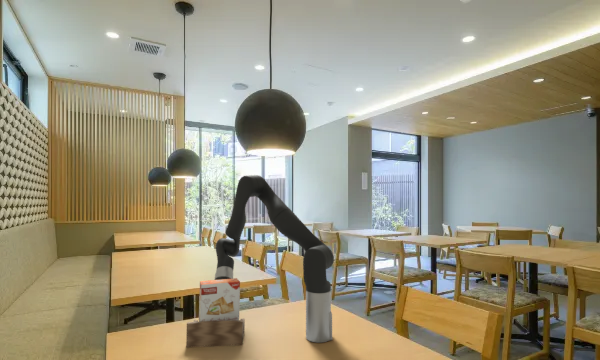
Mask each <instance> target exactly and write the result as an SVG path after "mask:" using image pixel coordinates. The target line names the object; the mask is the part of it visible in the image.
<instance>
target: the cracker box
mask: <svg viewBox="0 0 600 360" xmlns="http://www.w3.org/2000/svg"><path fill="white" fill-rule="evenodd" d="M240 286H241V282H240V280H239V279H238V278H237V277H235V278H234V277H233V279H222V280H214V279H211V280H201V281H199V298H198V299H199V301H198V303H199V304H198V305H199V306H198V322H200V321H229V320H240V304H241V303H240V301H241V299H240V298H241V295H240V294H241V292H240V291H241V287H240Z"/></svg>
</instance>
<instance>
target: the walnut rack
mask: <svg viewBox="0 0 600 360" xmlns="http://www.w3.org/2000/svg"><path fill="white" fill-rule="evenodd" d="M245 320H246V319H245V318H239V320H229V321H200V322H199V319H196V320H195V319H194V320H193V321H187V322H186V339H185V340H186V342H185V343H186V345H185V347H186V348H199V347H200V348H202V347H203V348H205V347H224V346H226V347H228V346H229V347H230V346H242V345H243V341H244V336H245V329H246V328H245V326H246V325H245V322H246V321H245Z"/></svg>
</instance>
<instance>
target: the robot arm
mask: <svg viewBox="0 0 600 360" xmlns="http://www.w3.org/2000/svg"><path fill="white" fill-rule="evenodd" d="M252 197H253V198H254V197H255V198H258V200H260V201H261V202H262V203H263V205H264V206H265V208H266V210H267V215H268V218H269V221H270V222H271V224H272V225H273V226H274V227H275V229H277V231H278V232H279V233H280V234H281V235H283V236H284V237H285V238H287V239H289V240H291V241H292V242H293V243H296V244H298V246H300V248H302V249H303V250H304V251H305V252H304V253H303V254H304V255H303V260H302V271H303V282H304V286H305V338H306V340H307V341H309V342H311V343H318V344H319V343H326V342H328V341H333V313H332V293H331V291H332V286H331V282H330V281H329V280H328V279H327V270H328V269H329V268H331V267H332V266H333V265H334V262H335V257H334V253H333V251H332V249H331V248H330V247H329V246H327V245H326V243H324V242H323V241H322V240H321V239H319V238H318V237H317V236H316V235H315V234H314V233H313V232H311V230H310V229H309V228H308V227H307V226H306V224H304V222H302V220H301V219H300V218H299V217H298V216H297V214H295V213H294V212H293V211H292V210H291V208H289V206H288V205H287V204H286V203H285V202H284V201H283V200H282V199H281V198H280V197H279V196H278V195H277V193H275V191H274V190H273V188H272V187H271V186H270V185H269V182H267V180H266V179H265V178H264V177H263V176H261V175H258V174H247V175H246V174H245V175H243V176H241V177H240V179H239V180H238V182H237V187H236V191H235V197H234V203H233V207H232V211H231V215H230V219H229V220H228V224H227V226H226V229H225V235H226V236H227V238H219V239H218V240H217V241H216V244H215V253H216V258H217V259H216V260H217V264H216V270H215V274H214V279H213V280H222V279H233V278H234V268H235V267H234V266H235V260H234V258H233V257H236V256H238V254H239V252H240V248H241V247H240V246H241V237H242V234H243V231H244V229H245V226H246V223H247V222H246V221H247V214H246V207H247V203H248V201H249V199H250V198H252ZM228 238H230V239H228Z"/></svg>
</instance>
